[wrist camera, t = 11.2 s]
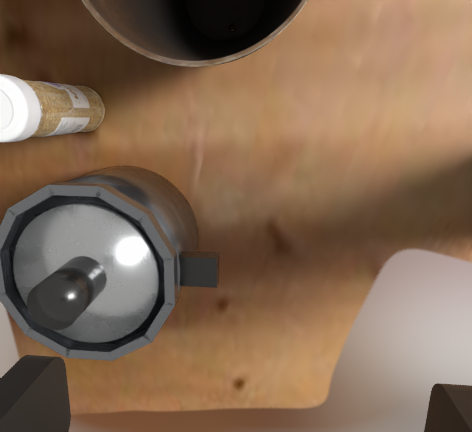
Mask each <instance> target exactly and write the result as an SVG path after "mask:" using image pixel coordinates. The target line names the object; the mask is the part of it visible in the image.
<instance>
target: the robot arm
mask: <svg viewBox="0 0 472 432" xmlns="http://www.w3.org/2000/svg"><path fill="white" fill-rule="evenodd" d="M70 418H71V414H70V404H69V395H68V386H67V376H66V367H65V363H64V360H63V359H62V358H60V357H49V356H34V355H26V356H24V357H22V358H21V359H20V360H19V361H18V362H17V363H16V364H15V365H14V366H13V367H12V368H11V369H10V370H9V371H8V372H7V373H6V374H5V375H4V376H3V377H2V378H0V432H68V430H69V426H70ZM424 432H472V386H466V385H452V384H435V385H434V386H433V388H432V391H431V396H430V402H429V408H428V413H427V419H426V425H425V430H424Z"/></svg>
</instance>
